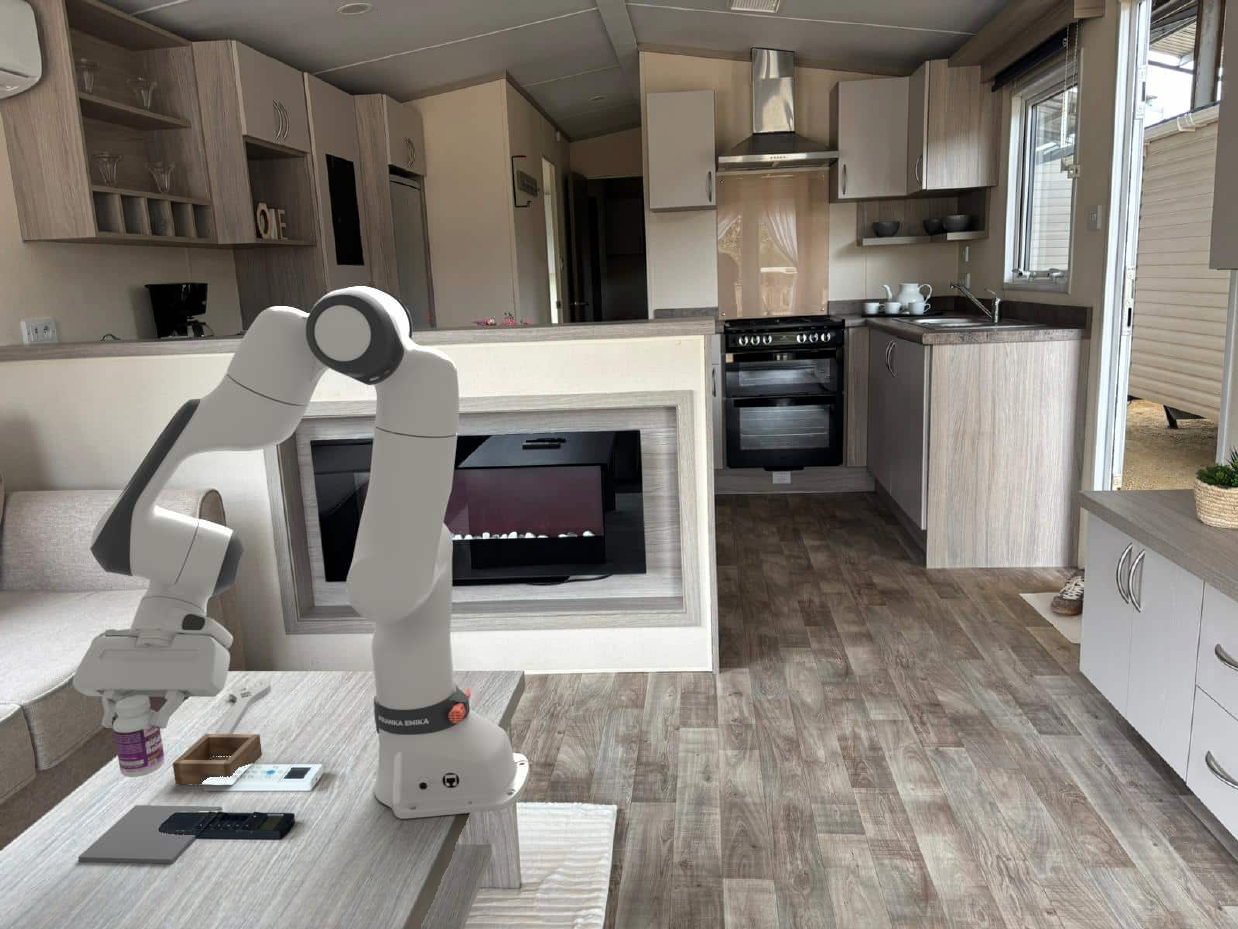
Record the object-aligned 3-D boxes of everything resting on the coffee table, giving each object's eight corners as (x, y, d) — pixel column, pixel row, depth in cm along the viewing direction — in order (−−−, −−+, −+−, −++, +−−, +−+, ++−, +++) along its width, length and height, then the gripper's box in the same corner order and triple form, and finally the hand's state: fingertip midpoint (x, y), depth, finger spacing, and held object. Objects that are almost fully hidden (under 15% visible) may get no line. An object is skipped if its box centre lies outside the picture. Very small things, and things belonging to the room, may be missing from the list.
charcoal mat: (222, 810, 128) (221, 806, 128) (172, 863, 117) (171, 859, 116) (136, 809, 130) (135, 805, 130) (78, 861, 118) (78, 857, 118)
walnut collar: (262, 754, 144) (259, 734, 143) (232, 785, 135) (229, 764, 134) (208, 754, 145) (205, 734, 144) (175, 784, 136) (172, 763, 135)
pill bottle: (159, 775, 119) (148, 707, 117) (115, 781, 118) (103, 713, 116) (169, 754, 125) (159, 689, 123) (127, 760, 123) (116, 695, 121)
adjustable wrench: (221, 755, 145) (220, 745, 145) (181, 758, 145) (179, 748, 145) (275, 687, 170) (274, 678, 169) (241, 689, 170) (239, 680, 169)
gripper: (84, 620, 126) (45, 718, 118) (223, 619, 123) (193, 720, 116) (110, 638, 131) (74, 733, 123) (244, 638, 129) (216, 735, 121)
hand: (133, 727), depth 119 cm, fingers closed on pill bottle, 5 cm apart
